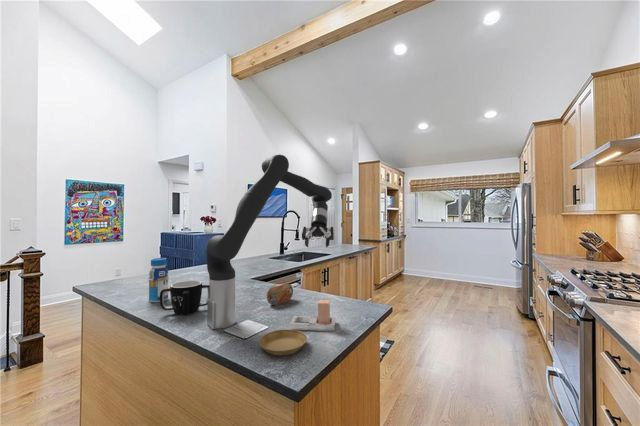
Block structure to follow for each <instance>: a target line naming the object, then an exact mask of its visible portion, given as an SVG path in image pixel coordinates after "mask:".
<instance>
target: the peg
mask: <svg viewBox="0 0 640 426" xmlns="http://www.w3.org/2000/svg"><path fill="white" fill-rule="evenodd" d="M330 302H331V300H330V299H319V300H318V302H317V316H318V323H320V324H331V323H330V317H331V314H330V313H331V309H330V307H331V303H330Z"/></svg>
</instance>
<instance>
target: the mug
mask: <svg viewBox="0 0 640 426" xmlns="http://www.w3.org/2000/svg"><path fill="white" fill-rule="evenodd" d="M169 286H170V287H168V289H163V290H162V291H161V292H160V302H159V304H160V307H161V309H162V310H163V311H172V310H173V311H172V312H173V313H174V314H175V315H177V316H185V315H186V316H187V315H192V314H194V313H196V312H198V310H200V309H199V308H200V307H205V306H207V300H208V299H209V284H203V282H202V281H200V280H183V281H178V282H174V283H172V284H170V285H169ZM203 289H207V299H206V301H204V302H201V301H202V300H201V299H202V295H203V294H202V293H203V292H202V291H203ZM164 292H168V293H169V292H170V301H171V306H166V304H165V301H164Z"/></svg>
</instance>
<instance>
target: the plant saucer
mask: <svg viewBox="0 0 640 426" xmlns="http://www.w3.org/2000/svg"><path fill="white" fill-rule="evenodd" d="M307 340H308V337H307V335H306V334H305V333H303V331H301V330H290V329H288V328H287V329H277V330H273V331H269V332H267V333H265V334H264V335H262V336H260V338H259V339H258V344H259V345H260V347H261V348H262V350H264V351H265V352H267V354H270V355H272V356H273V355H274V356H281V357H282V356H289V355H292V354H295V353H297V352H298V351H300V350H301V349H302V348H303V347H304V346H305V345H306V343H307Z"/></svg>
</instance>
